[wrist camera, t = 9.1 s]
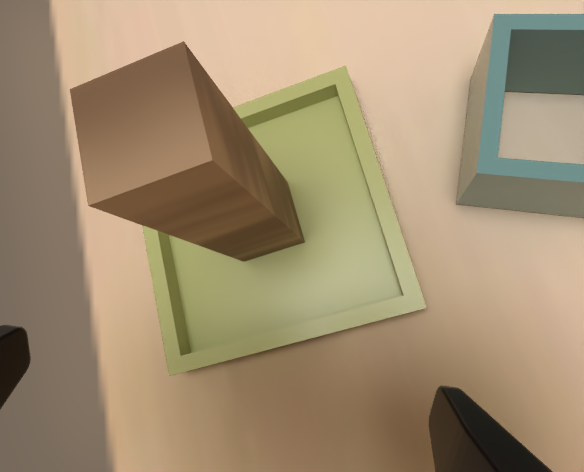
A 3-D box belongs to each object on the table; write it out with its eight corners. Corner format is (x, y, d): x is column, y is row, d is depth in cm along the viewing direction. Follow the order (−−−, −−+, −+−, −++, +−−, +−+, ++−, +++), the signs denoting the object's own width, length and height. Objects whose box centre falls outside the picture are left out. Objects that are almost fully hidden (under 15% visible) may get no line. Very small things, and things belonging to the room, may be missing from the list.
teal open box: (615, 221, 19) (689, 191, 14) (456, 204, 21) (476, 173, 16) (623, 83, 20) (695, 14, 15) (470, 77, 22) (494, 14, 17)
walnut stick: (305, 242, 21) (212, 160, 10) (243, 261, 22) (88, 205, 10) (287, 182, 22) (183, 41, 11) (229, 202, 23) (69, 89, 11)
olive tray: (423, 308, 20) (426, 307, 18) (185, 371, 22) (168, 375, 20) (348, 83, 23) (345, 65, 21) (146, 157, 25) (128, 146, 23)
